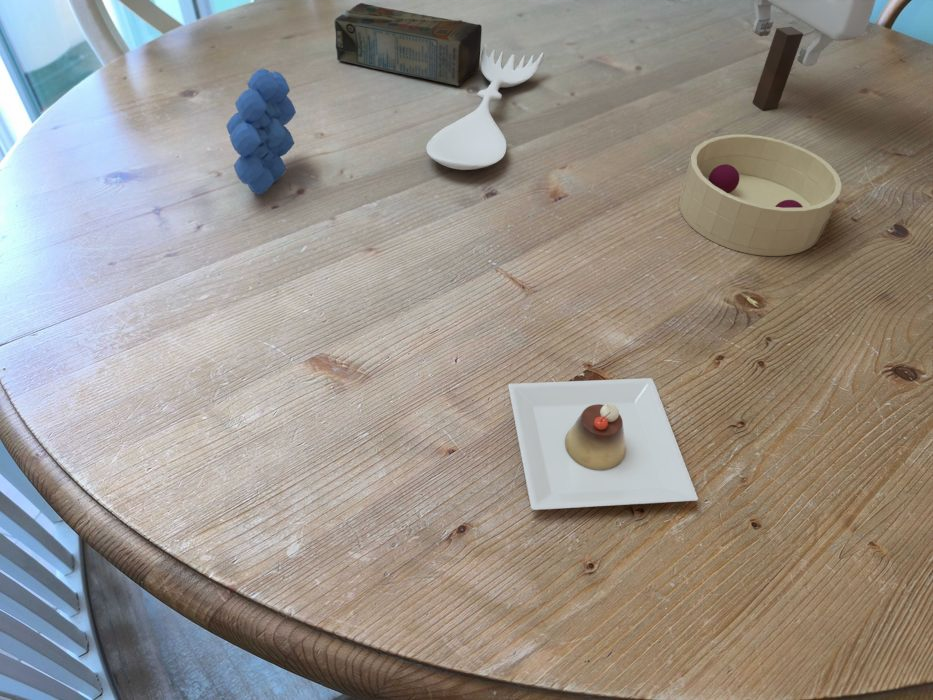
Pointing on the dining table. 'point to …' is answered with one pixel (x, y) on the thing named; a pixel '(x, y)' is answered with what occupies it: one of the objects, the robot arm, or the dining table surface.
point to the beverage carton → (408, 43)
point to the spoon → (480, 119)
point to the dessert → (597, 444)
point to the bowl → (759, 195)
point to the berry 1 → (724, 177)
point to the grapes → (262, 130)
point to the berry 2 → (789, 204)
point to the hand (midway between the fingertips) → (782, 48)
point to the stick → (777, 67)
